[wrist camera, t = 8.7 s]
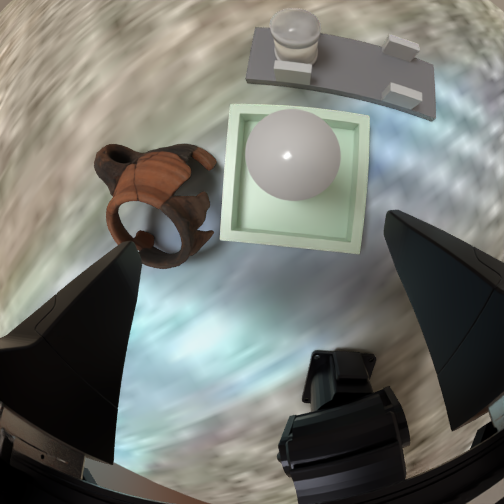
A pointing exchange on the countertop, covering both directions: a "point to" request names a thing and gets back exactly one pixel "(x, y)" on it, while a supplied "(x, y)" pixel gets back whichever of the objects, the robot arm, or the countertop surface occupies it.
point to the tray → (304, 211)
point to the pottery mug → (155, 196)
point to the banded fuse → (292, 154)
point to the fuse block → (352, 71)
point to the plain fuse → (295, 35)
